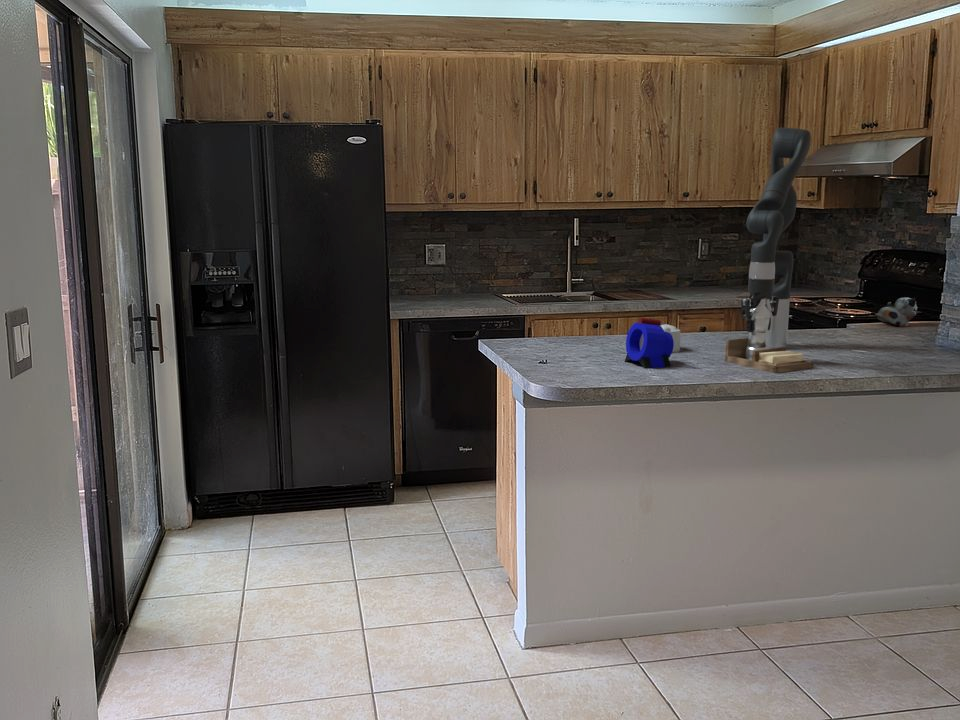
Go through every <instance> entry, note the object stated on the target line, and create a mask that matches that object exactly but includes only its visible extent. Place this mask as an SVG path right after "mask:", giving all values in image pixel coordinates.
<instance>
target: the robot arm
mask: <svg viewBox="0 0 960 720" xmlns="http://www.w3.org/2000/svg"><path fill="white" fill-rule="evenodd" d="M772 136H773V137H772V141H771V142H772V143H771V157H770V159H771V160H770V175H769V176H770V177H769V179H768V180H767V182H766V184H765V186H764V189H763V192H762V194H761V197H760V199H759V200H758V201H757V202H756V204H755V205H754V206H753V208H752V209H751V211H750V212H749V213H748V216H747V218H746V221H745V222H746V228H747V230H748V232H750V233H751V234H756V235H758V234H760V235H763V238H762V240H761V241H756V242H753V243H752V245H751V247H750V263H749V270H748V283H747V291H748V292H749V296H748V298H741V301H740V310H741V311H740V312H741V313H740V314H741V318H743V319H745V320H746V328H745V329H746V332H747V333H749V332H754V318H755V315H756V314H757V313H758V312H759V310H760V307H761V305H762V304H763V300H762V299H760V298H767V299H766V307H767V308H768V310H769V312H770V320H769V325H768V331H767V349H771V348H779V347H786V348H787V343H788V333H789V332H788V330H789V317H790V316H789V315H790V301H791V286H792V278H793V277H792V276H793V270H794V254H793V252H792V251H790V250H777V246H778V242H779V239H780V236H781V235H782V233H784V232H785V231H786V229H787V228H788V227H789V226H790V225H791V223H793V220H794V218H795V217H796V216H795V215H796V211H797V210H796V209H797V203H798V196H797V193H796V190H795V188H794V185H793V182H794V180H795V178H796V176H797V175H798V173H799V171H800V170H801V167H802V166H803V163H804V161H805V160H806V157H807V156H808V153H809V152H810V148H811V142H812V141H811V140H812V135H811V132H810V131H809V130H807V129H803V128H795V127H794V128H791V127H783V126H782V127H777V128H776V129H775V131H774V134H773V135H772ZM784 159H789V162H788V163H786V164H784ZM790 159H791V160H790ZM777 278H778V279H779V278H780V280H779V282H777V283H775V281H776V280H775V279H777ZM752 308H753V309H755V310H752ZM751 312H752V315H751V316H750V313H751Z"/></svg>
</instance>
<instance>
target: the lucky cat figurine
mask: <svg viewBox="0 0 960 720" xmlns="http://www.w3.org/2000/svg"><path fill="white" fill-rule="evenodd" d="M917 310H918V306H917V301H916V297H913V298H910V297H905V296H904V297H900V298H897V300H895V302H894V304H893V303H892V302H891V301H889V302H887V303H886V306H884V307H882V308H880V309H879V310H878V312H876V313H875V316H876V317H877V319H878V320H879V321H881V323H884V324H885V323H886V324H893V325H896V326H897V327H898V328H905V327H908V326H909V321H910V320H912V319H913V318H914V317H915V316H916V315H917Z"/></svg>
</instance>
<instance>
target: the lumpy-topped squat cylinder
mask: <svg viewBox="0 0 960 720" xmlns="http://www.w3.org/2000/svg"><path fill="white" fill-rule="evenodd" d="M660 326H661V327H662V328H663V330H664V332H669V333H670V334H671V335H672V337H673V341H674V346H673V351H672V353H679V352H681V329H678V328H677V327H676V326H674V325H671V324H667V323H665V324H661V325H660Z"/></svg>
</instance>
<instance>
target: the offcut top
mask: <svg viewBox="0 0 960 720" xmlns="http://www.w3.org/2000/svg"><path fill="white" fill-rule="evenodd" d="M759 360H762V361H766V362H770V363H783V362H795V361H803V360H804V354H803V353H801V352H796V351H792V350H785V351H777V352H764V353H759Z"/></svg>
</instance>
